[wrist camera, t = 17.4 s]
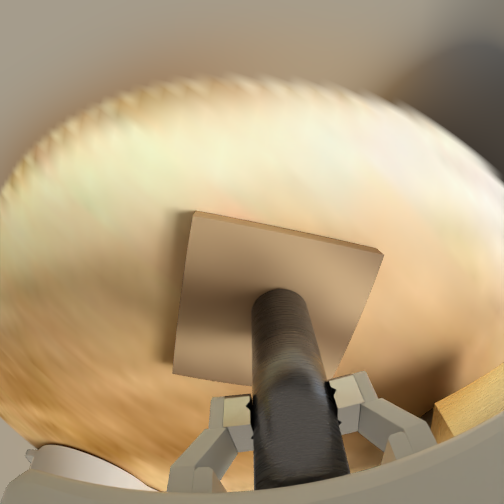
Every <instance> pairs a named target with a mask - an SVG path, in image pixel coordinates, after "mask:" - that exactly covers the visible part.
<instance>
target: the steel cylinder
mask: <svg viewBox="0 0 504 504" xmlns="http://www.w3.org/2000/svg"><path fill="white" fill-rule="evenodd" d="M251 333H252V393H253V449H254V490H263V489H272V488H279V487H287V486H293V485H299V484H305V483H311V482H316V481H321V480H326V479H331V478H335V477H339V476H344V475H348V474H350V470H349V465H348V461H347V457H346V453H345V448H344V444H343V440H342V436H341V432H340V428H339V424H338V420H337V416H336V412H335V408H334V404H333V400H332V396H331V393H330V390H329V386H328V382H327V381H328V380H327V377H326V373H325V369H324V365H323V362H322V358H321V354H320V351H319V347H318V343H317V340H316V336H315V333H314V329H313V326H312V322H311V318H310V315H309V311H308V308H307V304H306V302H305V300H304V299H303V298H302V297H301V296H300V295H299V294H298V293H296V292H294V291H291V290H287V289H275V290H271V291H268V292H266V293H264V294H263V295H261V296H260V297H259V298H258V299H257V300H256V301H255V303H254V304H253V306H252V310H251Z"/></svg>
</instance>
